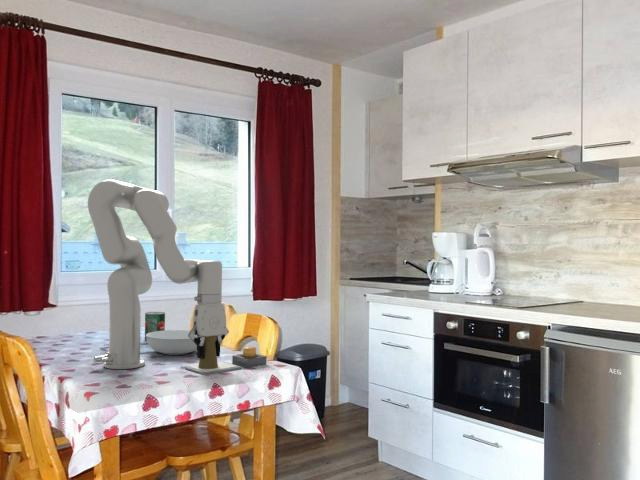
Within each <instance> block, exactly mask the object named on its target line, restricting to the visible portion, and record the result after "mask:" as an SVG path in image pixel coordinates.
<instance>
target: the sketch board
mask: <svg viewBox="0 0 640 480" xmlns="http://www.w3.org/2000/svg"><path fill="white" fill-rule="evenodd" d="M217 363H218V367H217V368H212V369H202V368H199V367H198V366H199V364H197V365H190V366H185V370H187V371H191V372H192V373H193V372H194V373H197V374H200V375H204V376H206V375H213V374H219V373H224V372H230V371H237V370H241V369H243V367H242V366H238V365H235V364H232V363H228V362H226V361H217Z"/></svg>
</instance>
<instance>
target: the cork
mask: <svg viewBox="0 0 640 480" xmlns="http://www.w3.org/2000/svg"><path fill="white" fill-rule="evenodd" d="M216 340H217V336H209V337H205V339H204V343H203V346H204V347H205V358H204V359H200V358H198V359H199V361H198V365H199V366H198V367H199V368H202V369H212V368H217V367H218V363H217V362H218V357H217V355H216V346H215V342H216Z"/></svg>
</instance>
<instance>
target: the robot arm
mask: <svg viewBox="0 0 640 480" xmlns="http://www.w3.org/2000/svg"><path fill="white" fill-rule="evenodd" d="M87 199H88V200H87V209H88V213H89V216H90V218H91V223H92V224H93V227H94V231H95V235H96V237H97V241H98V244H99V248H100V252H101V254H102V255H101V256H102V257H103V259H104V261H105V262H106V263H107V264H110V265H115V266H116V265H118V266H119V265H120V268H116V269H115V270H113V271H112V272H111V274H110V275H109V277H108V279H107V283H106V284H107V294H108V300H109V331H108V332H109V335H108V337H109V339H108V340H109V341H108V344H109V345H108V351H106V352H105V354H103V355H97V356H93V362H94V363H95V364H96V363H97V364H98V363H103V367H104V368H106V369H111V370H129V369H136V368H141V367H143V366H144V365H146V361H145V360H144V359H142V358H141V327H142V326H141V325H142V324H141V321H142V320H141V318H142V317H141V314H142V313H141V311H142V310H141V302H140V299H139V295H143V294H145V293H147V292H148V291H149V290H150V289H151V287H152V285H153V274H152V272H151V269H150V268H151V267H150V265H149V264H150V263H149V262H148V259H147V254H146V252H145V249H144V247H143V245H142V243H141V242H140V240H138V239H137V238H135V237H134V236H130V235H127V234H126V232H125V230H124V227H123V223H122V220H121V218H120V216H119V214H118V213H117V211H116V208H122V209H126V210H131V211H134V212H136V214H137V215H138V217H139V218H140V220H141V222H142V225H144V228H145V230H146V231H147V233H148V235H149V236H150V238H151V240H152V244H153V250H154V253H155V256H156V257H155V258H156V259H157V261H158V264H159V265H160V266H161V268H162V270H163V271H164V273H165V276H167V278H168V279H169V280H170V281H171V282H172V283H174V284H178V285H181V284H182V285H183V284H189V283H195V282H197V293H196V294H197V295H196V296H194V297H193V299H194V301H195V302H196V304H195V305H194V310H193V318H192V328H191V330H189V331H190V332H189V334H188V337H189V338H190V339H191V340H192V341H193V342H194V343H195V345H197V350H196V357H197V358H198V359H204V358H205V347H204V346H203V343H204V339H205V337H209V336H217V340H216V342H215V346H216V355H217V358H218V357H220V355H221V344H222V343H223V341H224V339H225V338H226V336H227V335H228V334H229V333H230V331H229V329H228V327H227V315H226V314H227V313H226V309H225V304H224V303H223V302H222V295H223V294H222V292H223V290H222V289H223V287H222V286H223V264H222V262H221V261H220V260H215V259H214V260H212V259H211V260H209V259H207V260H199V259H195V258H194V259H193V258H184V257H183V255H182V253H181V251H180V249H179V248H178V245H177V242H176V233H177V225H176V224H175V222H174V220H173V218H172V217H171V215H170V214H169V212H168V210H169V207H170V201H169V199H168V197H167V195H165V194H164V193H163V192H161V191H158V190H153V189H150V188H146V187H142V186H139V185H135V184H132V183H128V182H124V181H119V180H116V179H105V180H104V179H103V180H102V181H99V182H98V183H97V184H95V185H94V186H93V188H92V189H91V190H90V192H89V194H88V198H87ZM195 335H197V338H196V337H195ZM197 358H196V359H197Z"/></svg>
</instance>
